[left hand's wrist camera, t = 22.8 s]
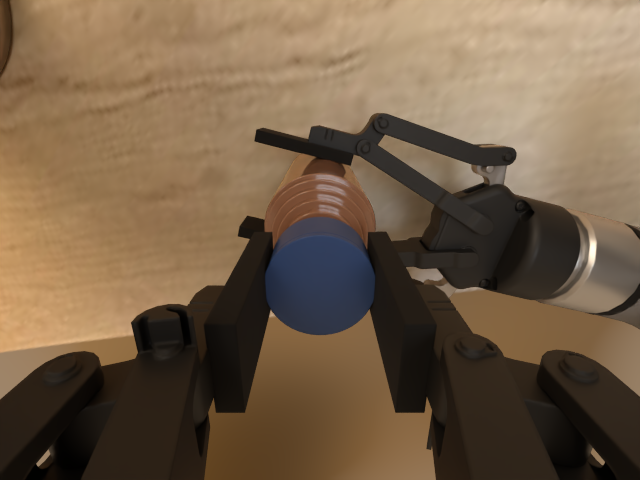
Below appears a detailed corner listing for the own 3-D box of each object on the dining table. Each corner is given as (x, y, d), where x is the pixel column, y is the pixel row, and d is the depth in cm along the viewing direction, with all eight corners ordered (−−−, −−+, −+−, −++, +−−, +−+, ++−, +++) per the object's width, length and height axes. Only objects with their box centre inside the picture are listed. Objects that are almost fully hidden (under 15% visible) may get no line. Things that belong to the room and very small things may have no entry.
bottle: (299, 137, 30) (267, 176, 12) (363, 161, 30) (426, 234, 12) (278, 201, 32) (223, 318, 14) (338, 222, 32) (362, 360, 14)
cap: (313, 195, 13) (311, 211, 11) (388, 256, 14) (400, 281, 12) (252, 268, 14) (241, 295, 12) (326, 320, 15) (327, 353, 13)
